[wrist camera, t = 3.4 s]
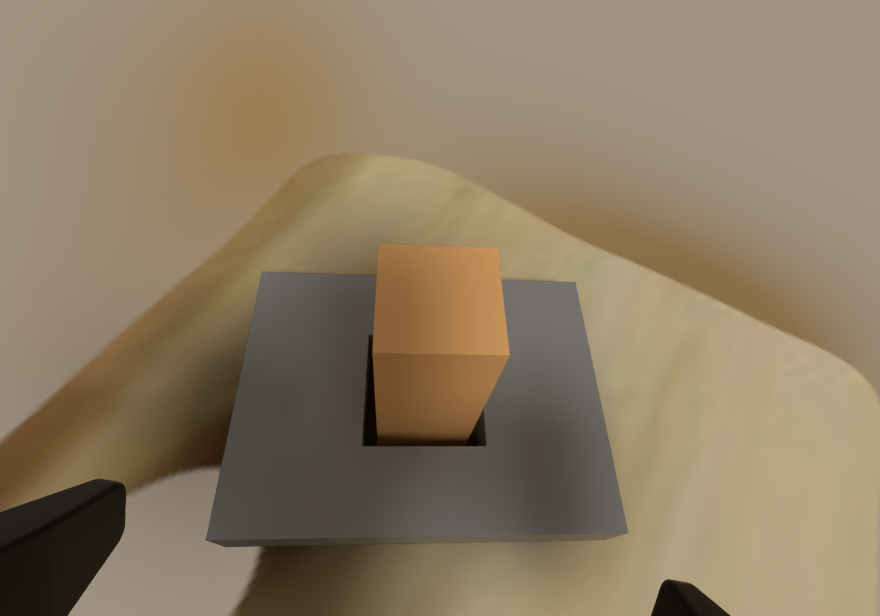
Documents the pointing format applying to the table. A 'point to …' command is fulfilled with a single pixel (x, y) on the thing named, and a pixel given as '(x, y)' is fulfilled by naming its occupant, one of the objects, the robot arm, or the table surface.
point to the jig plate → (410, 467)
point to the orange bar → (436, 341)
